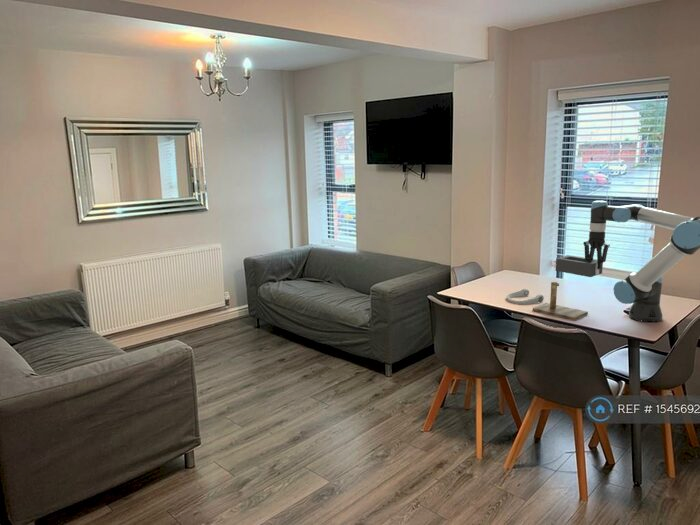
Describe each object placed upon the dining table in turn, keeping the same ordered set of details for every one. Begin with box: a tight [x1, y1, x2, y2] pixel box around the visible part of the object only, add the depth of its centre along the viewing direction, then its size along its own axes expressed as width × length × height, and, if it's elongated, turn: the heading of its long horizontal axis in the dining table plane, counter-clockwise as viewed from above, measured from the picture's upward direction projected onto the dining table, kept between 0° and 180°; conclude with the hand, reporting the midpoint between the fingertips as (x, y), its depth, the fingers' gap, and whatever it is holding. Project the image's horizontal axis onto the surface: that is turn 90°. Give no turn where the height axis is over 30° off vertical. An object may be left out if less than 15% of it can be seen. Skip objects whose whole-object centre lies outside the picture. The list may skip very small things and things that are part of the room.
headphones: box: [506, 288, 544, 305], centre depth 306 cm, size 18×17×5 cm
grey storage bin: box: [555, 254, 604, 278], centre depth 283 cm, size 20×12×7 cm, turn 38°
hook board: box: [531, 281, 589, 321], centre depth 279 cm, size 24×14×16 cm, turn 40°
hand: (594, 274), depth 277 cm, fingers closed on grey storage bin, 2 cm apart
